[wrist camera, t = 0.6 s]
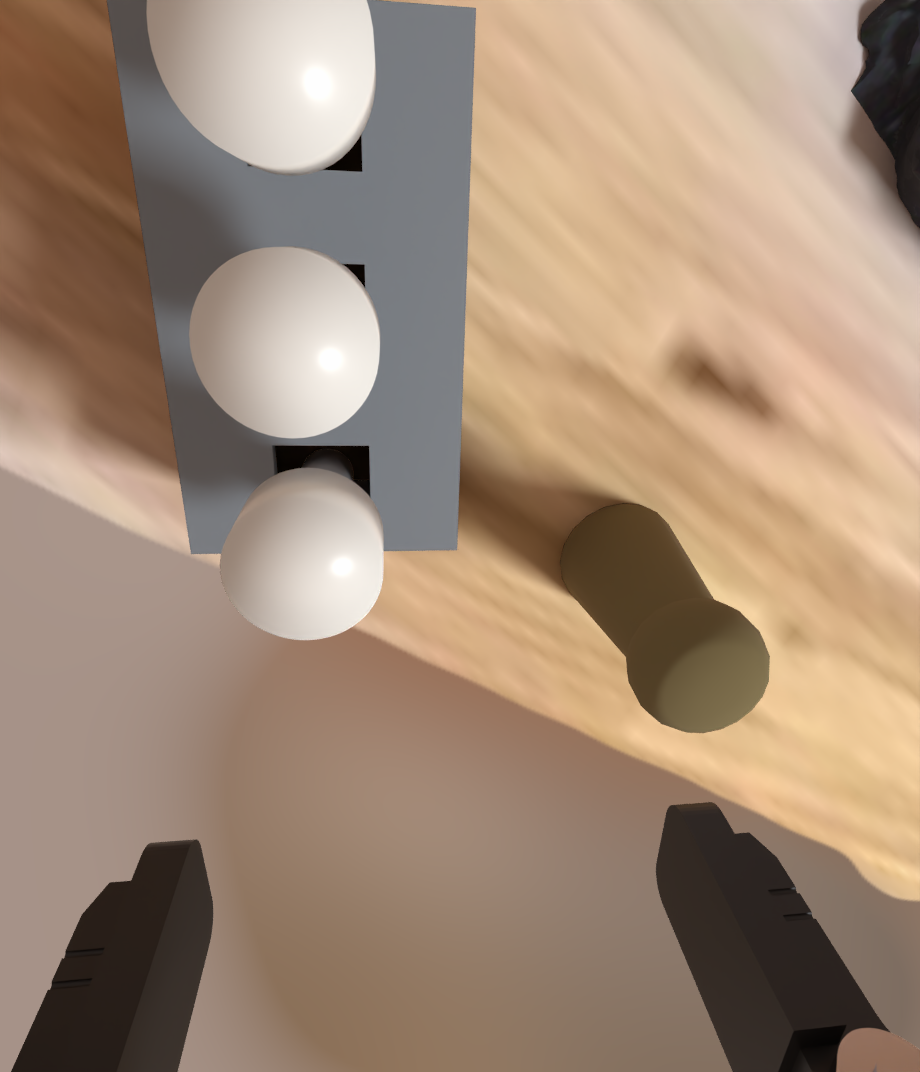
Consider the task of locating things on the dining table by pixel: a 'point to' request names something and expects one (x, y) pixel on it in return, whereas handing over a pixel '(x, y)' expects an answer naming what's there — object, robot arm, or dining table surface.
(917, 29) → the dark slate chunk
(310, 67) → the knob near
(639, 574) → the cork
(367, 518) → the knob far
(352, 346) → the knob middle
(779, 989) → the robot arm
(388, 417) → the mount block
